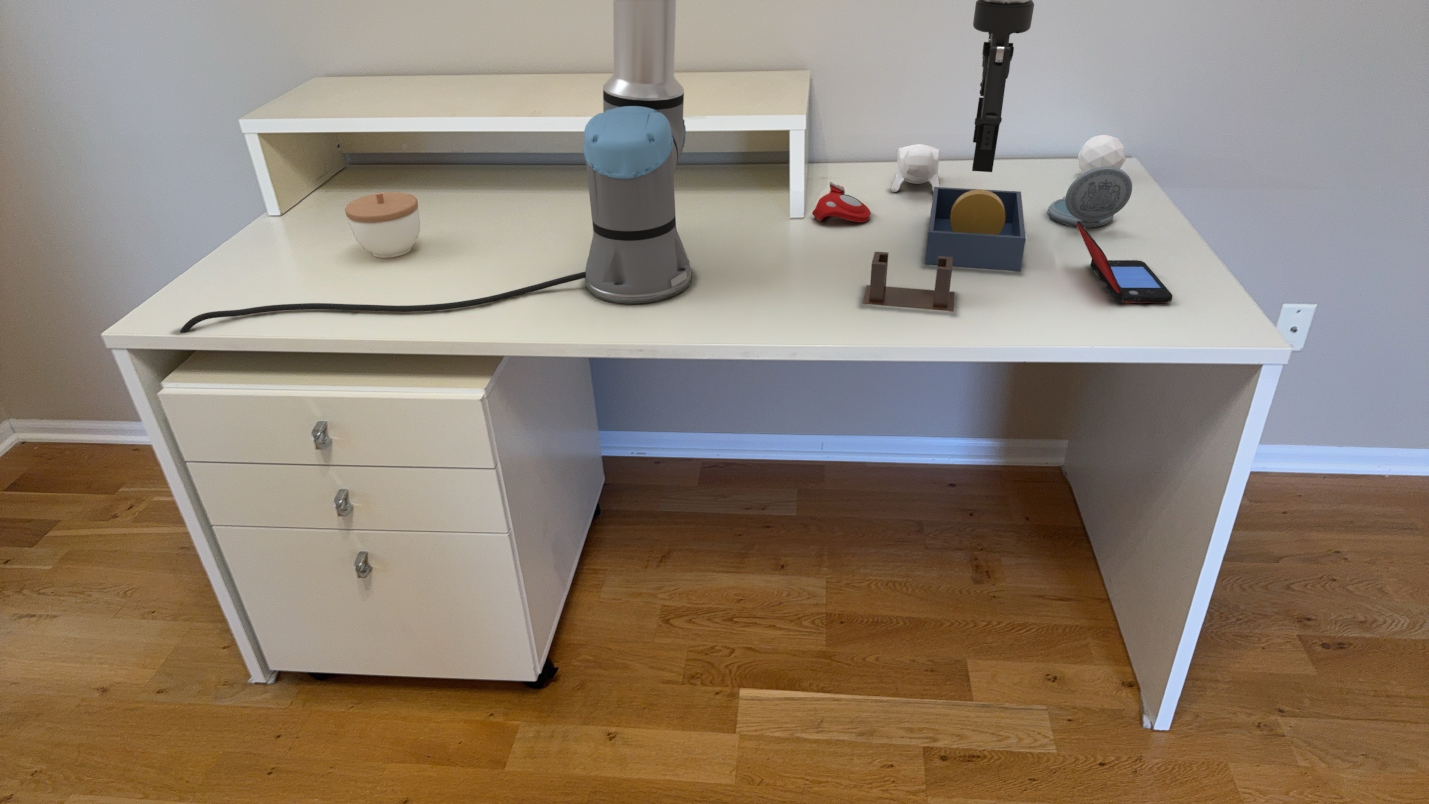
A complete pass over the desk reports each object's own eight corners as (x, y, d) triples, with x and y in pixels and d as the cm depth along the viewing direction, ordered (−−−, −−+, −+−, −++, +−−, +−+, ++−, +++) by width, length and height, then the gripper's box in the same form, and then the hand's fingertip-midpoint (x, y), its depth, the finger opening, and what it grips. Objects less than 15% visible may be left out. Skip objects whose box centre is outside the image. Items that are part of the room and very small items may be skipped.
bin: (1019, 274, 130) (1025, 238, 127) (924, 267, 133) (928, 231, 130) (1015, 224, 146) (1021, 191, 143) (930, 219, 149) (934, 186, 146)
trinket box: (354, 244, 146) (340, 187, 141) (422, 233, 150) (410, 177, 145) (359, 269, 138) (343, 210, 133) (431, 256, 141) (418, 198, 136)
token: (1003, 244, 137) (1007, 193, 133) (949, 244, 139) (950, 194, 135) (1003, 239, 139) (1006, 188, 135) (949, 239, 141) (951, 189, 137)
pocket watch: (1073, 167, 136) (1048, 138, 148) (1060, 236, 141) (1037, 202, 154) (1142, 167, 135) (1111, 137, 147) (1126, 236, 141) (1098, 202, 153)
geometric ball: (1101, 190, 166) (1133, 153, 163) (1103, 188, 159) (1137, 150, 156) (1067, 164, 167) (1099, 127, 164) (1068, 161, 160) (1101, 123, 157)
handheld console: (1174, 305, 121) (1188, 253, 117) (1090, 305, 121) (1102, 253, 117) (1142, 266, 131) (1154, 217, 127) (1065, 266, 132) (1075, 218, 128)
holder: (954, 295, 125) (959, 254, 122) (953, 314, 120) (958, 273, 117) (866, 288, 128) (869, 248, 125) (862, 306, 123) (864, 266, 120)
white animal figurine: (891, 193, 168) (890, 190, 154) (895, 146, 166) (894, 138, 152) (938, 195, 166) (942, 192, 152) (943, 147, 165) (947, 139, 150)
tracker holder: (885, 212, 149) (840, 211, 143) (874, 235, 151) (829, 235, 146) (841, 176, 156) (797, 173, 150) (832, 199, 159) (788, 197, 153)
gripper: (1040, 15, 110) (1011, 186, 121) (1030, -16, 130) (1006, 133, 141) (976, 13, 111) (953, 182, 123) (976, -17, 132) (957, 130, 143)
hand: (982, 156), depth 132 cm, fingers open, 13 cm apart
